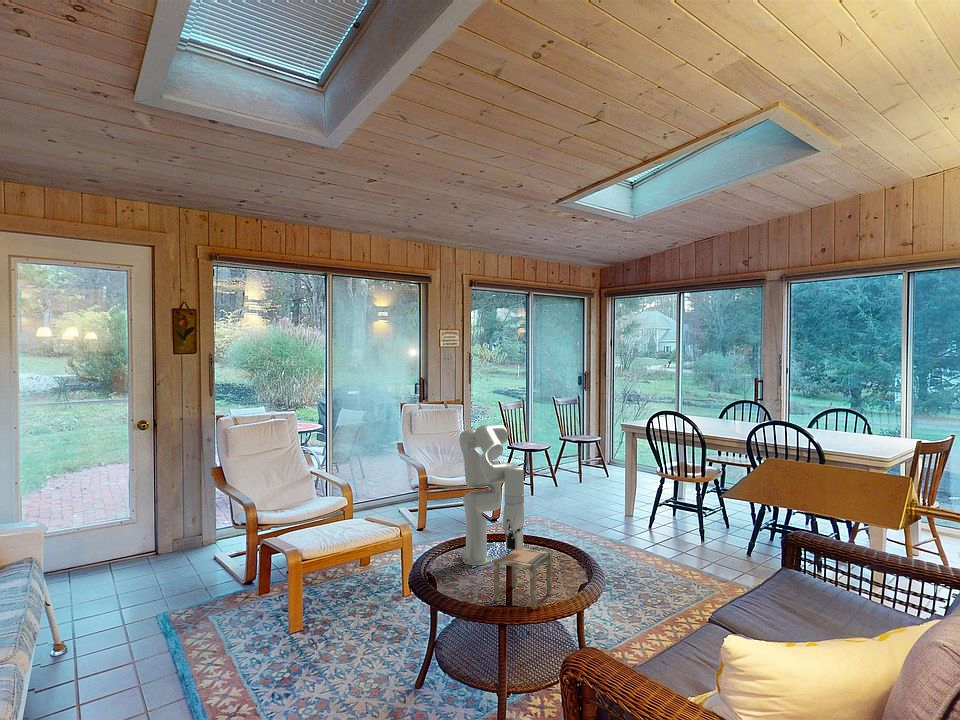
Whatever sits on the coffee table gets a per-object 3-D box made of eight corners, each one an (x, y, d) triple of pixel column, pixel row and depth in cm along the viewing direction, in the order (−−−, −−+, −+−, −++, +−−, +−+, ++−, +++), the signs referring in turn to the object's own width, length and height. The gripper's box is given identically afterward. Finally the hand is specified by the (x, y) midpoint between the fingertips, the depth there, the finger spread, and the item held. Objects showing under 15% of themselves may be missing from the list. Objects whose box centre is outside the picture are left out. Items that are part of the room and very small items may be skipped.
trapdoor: (501, 560, 200) (501, 557, 200) (515, 551, 211) (515, 548, 211) (530, 566, 194) (530, 562, 194) (543, 556, 205) (543, 553, 205)
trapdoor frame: (493, 600, 199) (493, 558, 199) (513, 585, 213) (513, 546, 214) (534, 610, 191) (534, 566, 191) (552, 593, 205) (551, 553, 205)
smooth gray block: (505, 548, 204) (505, 533, 204) (511, 545, 208) (511, 529, 208) (517, 550, 201) (517, 535, 201) (523, 547, 205) (523, 531, 206)
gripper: (515, 493, 214) (515, 539, 214) (495, 502, 199) (495, 551, 199) (532, 495, 210) (532, 542, 210) (513, 505, 196) (513, 555, 195)
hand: (514, 546), depth 204 cm, fingers closed on smooth gray block, 5 cm apart
